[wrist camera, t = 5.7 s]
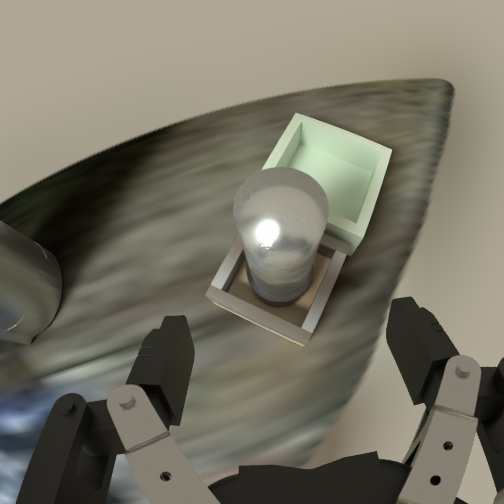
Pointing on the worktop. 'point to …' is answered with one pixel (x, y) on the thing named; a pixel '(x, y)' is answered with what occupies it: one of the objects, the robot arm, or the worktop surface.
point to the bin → (336, 172)
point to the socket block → (279, 318)
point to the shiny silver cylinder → (280, 232)
